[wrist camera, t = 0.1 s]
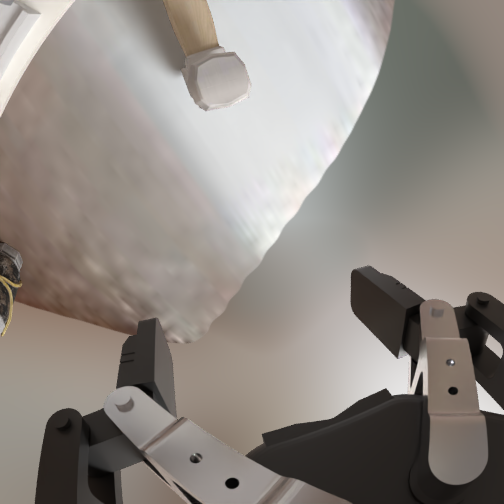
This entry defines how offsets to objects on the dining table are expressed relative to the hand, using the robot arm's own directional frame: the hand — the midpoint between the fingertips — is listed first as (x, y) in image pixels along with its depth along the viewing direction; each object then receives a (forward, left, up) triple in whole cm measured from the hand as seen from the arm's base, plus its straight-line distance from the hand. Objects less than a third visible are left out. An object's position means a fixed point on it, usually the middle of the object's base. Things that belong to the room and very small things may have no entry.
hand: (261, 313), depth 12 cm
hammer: (-13, +11, -32) cm, 36 cm away
